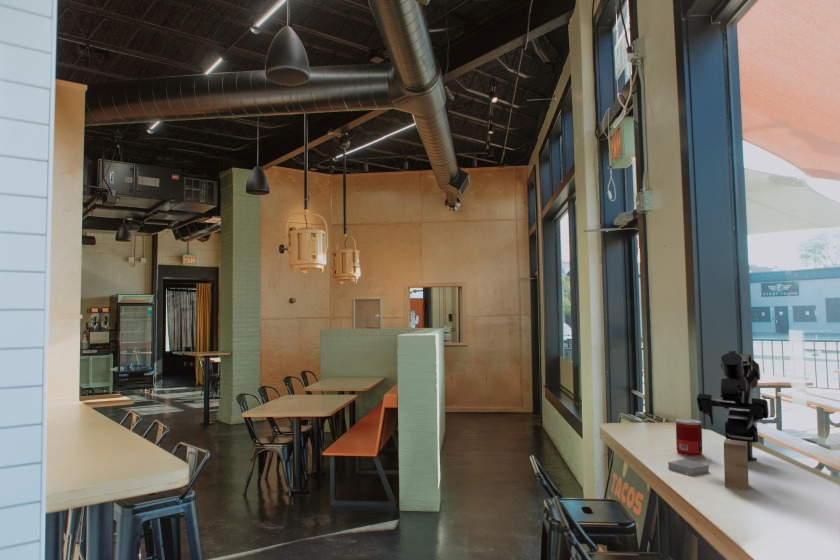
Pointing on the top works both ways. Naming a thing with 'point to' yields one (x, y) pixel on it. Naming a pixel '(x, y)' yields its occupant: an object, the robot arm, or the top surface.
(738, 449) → the walnut block
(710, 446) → the top surface
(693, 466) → the slate tile
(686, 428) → the canned food
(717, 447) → the top surface
